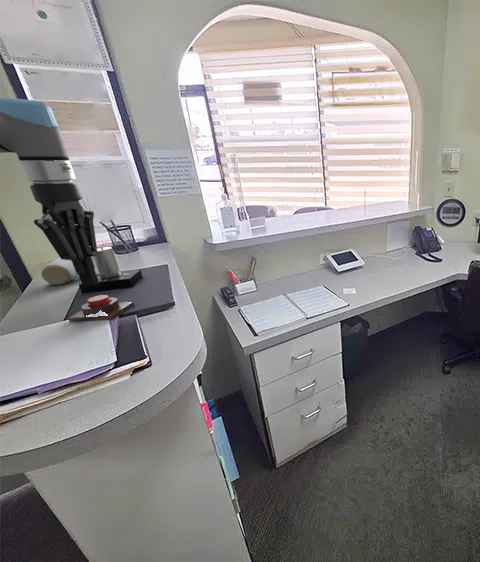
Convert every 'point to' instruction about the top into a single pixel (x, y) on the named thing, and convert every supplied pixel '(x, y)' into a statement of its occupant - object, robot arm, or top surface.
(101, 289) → the panel
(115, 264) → the silver cylinder
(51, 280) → the ceramic mug
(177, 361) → the top surface
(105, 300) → the power button
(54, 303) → the top surface
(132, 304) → the button block
